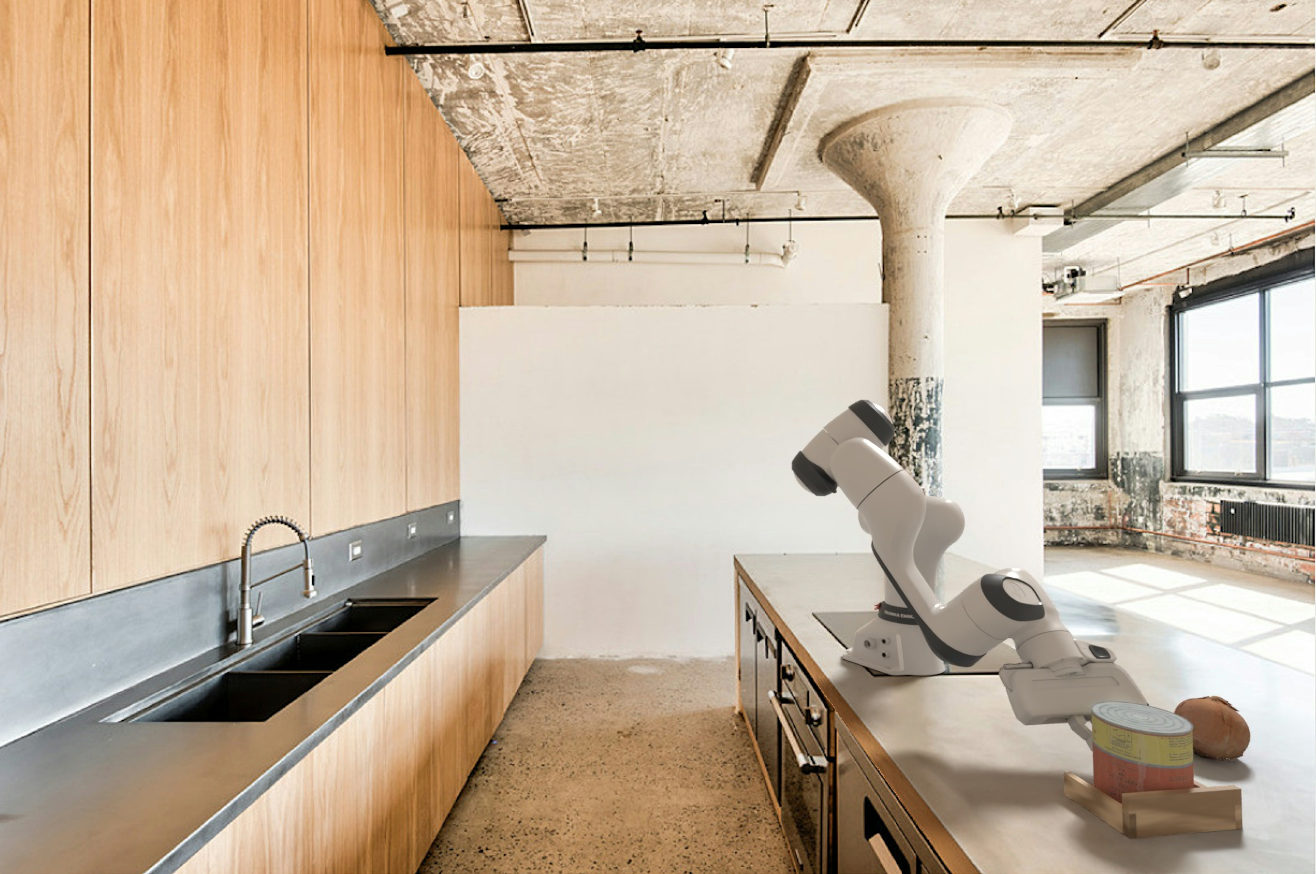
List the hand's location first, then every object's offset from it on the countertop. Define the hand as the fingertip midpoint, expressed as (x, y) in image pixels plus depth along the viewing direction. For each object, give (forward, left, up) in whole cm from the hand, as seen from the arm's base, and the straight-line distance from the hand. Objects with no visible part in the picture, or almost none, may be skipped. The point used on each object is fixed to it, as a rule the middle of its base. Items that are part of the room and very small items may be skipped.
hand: (1104, 749), depth 96 cm
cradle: (+6, -4, -5) cm, 9 cm away
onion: (+9, +23, -5) cm, 25 cm away
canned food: (+5, -3, -5) cm, 8 cm away
